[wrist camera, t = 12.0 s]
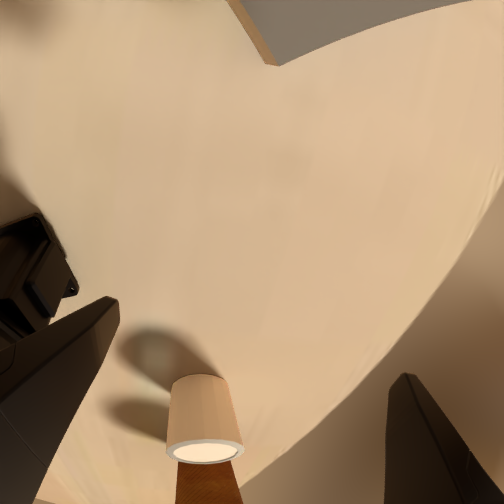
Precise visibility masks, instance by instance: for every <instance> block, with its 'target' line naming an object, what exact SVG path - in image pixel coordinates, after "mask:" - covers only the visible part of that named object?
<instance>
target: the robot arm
mask: <svg viewBox="0 0 504 504" xmlns="http://www.w3.org/2000/svg"><path fill="white" fill-rule="evenodd" d="M34 220H37V221H38V223H39V224H37V223H36V222H35V221H34ZM71 288H73V289H71ZM78 291H79V285H78V284H77V282H76V280H75V278H74V277H73V275H72V272H71V270H70V268H69V266H68V264H67V262H66V260H65V259H64V257H63V255H62V253H61V251H60V249H59V247H58V245H57V243H56V242H55V241H54V239H53V237H52V235H51V233H50V231H49V229H48V227H47V224H46V222H45V220H44V218H43V217H42V215H40V214H38V213H34V214H31V215H29V216H26V217H23V218H20V219H18V220H15V221H13V222H10V223H7V224H5V225H2V226H0V504H32V503H33V501H34V499H35V497H36V494H37V492H38V490H39V488H40V485H41V483H42V481H43V479H44V477H45V474H46V472H47V470H48V468H49V466H50V463H51V461H52V459H53V457H54V455H55V453H56V451H57V449H58V447H59V445H60V443H61V441H62V439H63V437H64V435H65V433H66V431H67V429H68V427H69V425H70V423H71V421H72V419H73V417H74V415H75V414H76V412H77V410H78V408H79V406H80V404H81V402H82V400H83V398H84V397H85V395H86V393H87V391H88V389H89V387H90V386H91V384H92V382H93V380H94V378H95V377H96V375H97V373H98V371H99V369H100V367H101V365H102V363H103V361H104V359H105V356H106V354H107V352H108V349H109V347H110V345H111V342H112V340H113V338H114V335H115V333H116V331H117V328H118V326H119V323H120V311H119V302H118V300H117V299H115V298H112V297H109V296H104V297H102V298H100V299H98V300H96V301H94V302H92V303H91V304H89V305H87V306H85V307H83V308H81V309H79V310H77V311H75V312H73V313H71V314H69V315H67V316H65V317H63V318H61V319H59V320H58V321H56V322H54V323H52V324H50V325H49V322H50V319H51V318H52V317H54V316H55V314H56V312H57V309H58V306H59V304H60V301H61V299H62V298H67V297H71V296H75V295H77V294H78ZM385 434H386V436H385V444H386V445H385V449H386V452H385V456H386V457H385V459H386V460H385V493H384V504H504V494H503V493H502V492H501V490H500V489H499V488H498V487H497V486H496V484H495V483H494V482H493V480H492V479H491V478H490V477H489V475H488V474H487V473H486V472H485V470H484V469H483V468H482V466H481V465H480V463H479V462H478V461H477V459H476V458H475V456H474V455H473V453H472V452H471V451H469V450H470V449H469V448H468V446H467V445H466V443H465V442H464V440H463V439H462V438H461V436H460V435H459V433H458V432H457V430H456V429H455V428H454V426H453V425H452V423H451V422H450V421H449V419H448V418H447V417H446V415H445V414H444V412H443V411H442V410H441V408H440V407H439V406H438V404H437V403H436V401H435V400H434V399H433V397H432V396H431V395H430V393H429V392H428V391H427V389H426V388H425V387H424V385H423V384H422V383H421V381H420V380H419V379H418V377H417V376H416V375H415V374H414V373H408V372H404V373H402V374H401V375H400V376H399V377H398V378H397V380H396V381H395V382H394V383H393V385H392V386H391V387H390V389H389V393H388V408H387V420H386V433H385Z"/></svg>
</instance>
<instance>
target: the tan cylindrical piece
mask: <svg viewBox="0 0 504 504" xmlns="http://www.w3.org/2000/svg"><path fill="white" fill-rule="evenodd" d="M244 451H245V449H244V446H243V442H242V438H241V434H240V430H239V427H238V423H237V419H236V415H235V411H234V407H233V403H232V399H231V395H230V391H229V387H228V383H227V382H226V381H224V380H223V379H222V378H219V377H216V376H213V375H207V374H195V375H188V376H185V377H182V378H180V379H178V380H177V381H176V382H174V383H173V385H172V389H171V398H170V409H169V419H168V431H167V443H166V454H167V455H168V456H169V457H170V458H172V459H174V460H177V461H179V462H185V463H191V464H212V463H221V462H225V461H229V460H232V459H234V458H237V457H239V456H241V455H242V453H243V452H244Z"/></svg>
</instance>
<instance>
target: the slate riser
mask: <svg viewBox="0 0 504 504" xmlns="http://www.w3.org/2000/svg"><path fill="white" fill-rule="evenodd" d="M466 1H471V0H227V2H228V4H229V5H230V7H231V8H232V10H233V11H234V13H235V14H236V16H237V17H238V19H239V21H240V22H241V24H242V25H243V27H244V29H245V30H246V32H247V34H248V35H249V37H250V38H251V40H252V42H253V43H254V45H255V47H256V48H257V50H258V52H259V54H260V55H261V57H262V59H263V60H264V62H265V64H269V65H274V66H281V65H283V64H285V63H287V62H290V61H292V60H294V59H296V58H298V57H300V56H302V55H305V54H307V53H309V52H311V51H314V50H316V49H318V48H321V47H323V46H325V45H328V44H330V43H333V42H335V41H338V40H340V39H343V38H345V37H348V36H350V35H353V34H356V33H358V32H361V31H364V30H367V29H369V28H372V27H375V26H378V25H381V24H384V23H387V22H390V21H393V20H396V19H399V18H403V17H406V16H409V15H413V14H416V13H420V12H424V11H427V10H431V9H435V8H439V7H443V6H447V5H452V4H456V3H461V2H466Z"/></svg>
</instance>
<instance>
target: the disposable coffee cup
mask: <svg viewBox="0 0 504 504" xmlns="http://www.w3.org/2000/svg"><path fill="white" fill-rule="evenodd" d="M175 504H243V501H242V498H241V495H240V492H239V488H238V485H237V482H236V478H235V475H234V471H233V468H232V465H231V461H230V460H229V461H225V462H221V463H212V464H191V463H185V462H179V461H178V472H177V486H176V500H175Z"/></svg>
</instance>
